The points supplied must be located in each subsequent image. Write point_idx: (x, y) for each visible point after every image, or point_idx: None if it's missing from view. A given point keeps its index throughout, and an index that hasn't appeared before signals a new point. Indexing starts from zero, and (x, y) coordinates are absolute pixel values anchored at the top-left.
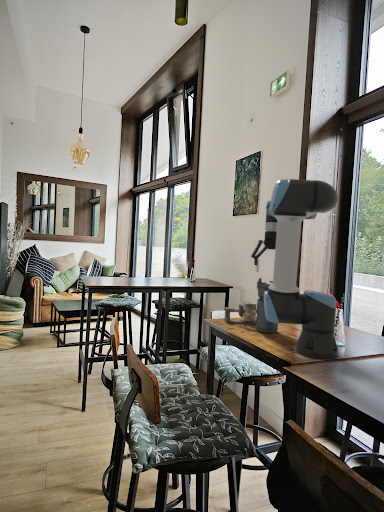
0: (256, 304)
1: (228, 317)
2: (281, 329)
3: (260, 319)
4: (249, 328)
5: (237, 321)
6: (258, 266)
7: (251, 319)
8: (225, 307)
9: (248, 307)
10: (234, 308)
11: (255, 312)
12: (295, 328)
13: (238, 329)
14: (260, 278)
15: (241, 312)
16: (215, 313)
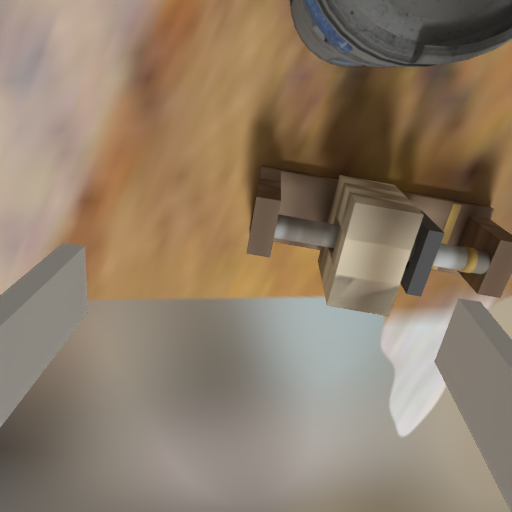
0: (355, 202)
1: (485, 223)
2: (235, 47)
3: None
4: (423, 71)
5: (429, 203)
6: (503, 352)
7: (364, 180)
8: (504, 287)
9: (404, 205)
10: (460, 260)
11: (350, 187)
12: (136, 74)
13: (506, 43)
14: None
15: (426, 218)
16: (433, 403)
